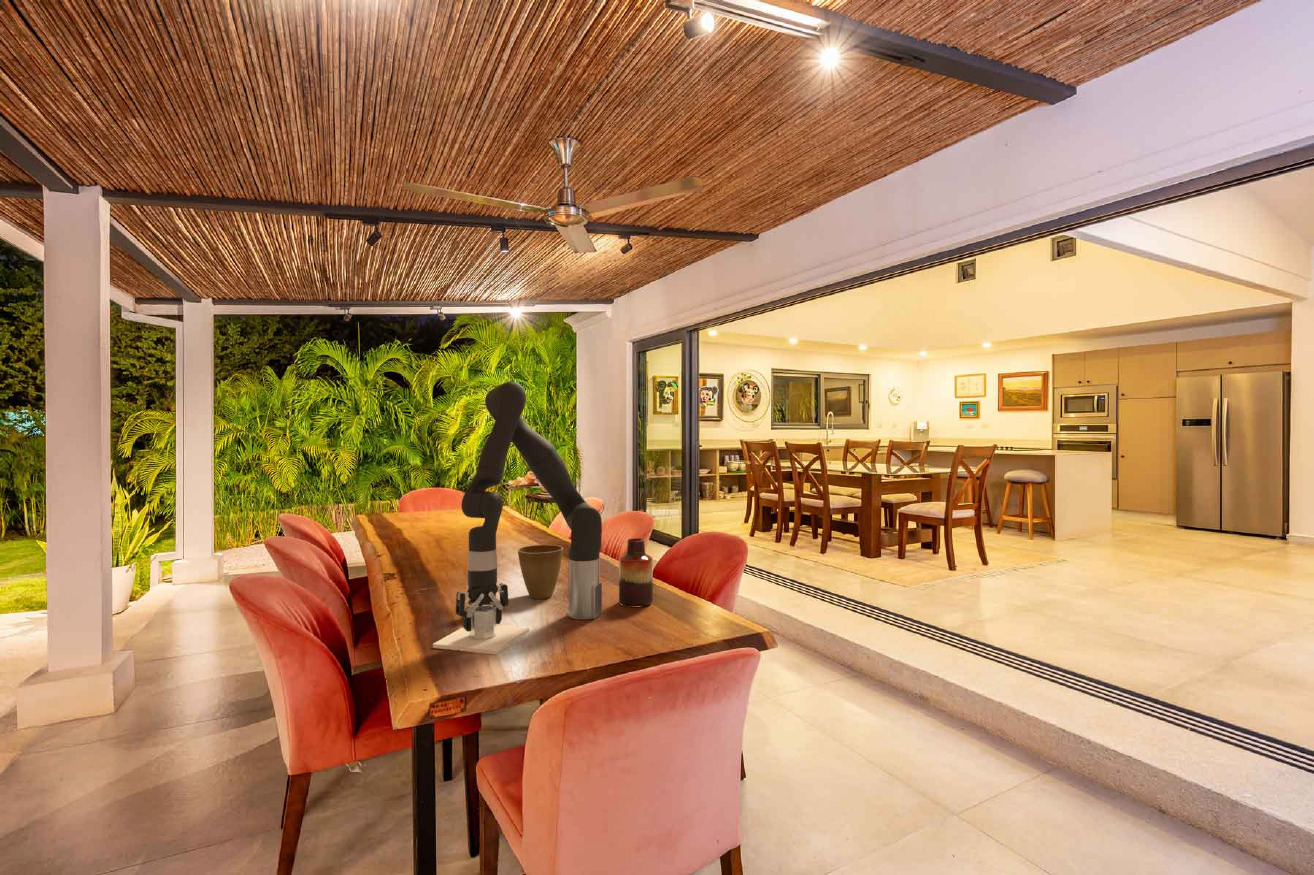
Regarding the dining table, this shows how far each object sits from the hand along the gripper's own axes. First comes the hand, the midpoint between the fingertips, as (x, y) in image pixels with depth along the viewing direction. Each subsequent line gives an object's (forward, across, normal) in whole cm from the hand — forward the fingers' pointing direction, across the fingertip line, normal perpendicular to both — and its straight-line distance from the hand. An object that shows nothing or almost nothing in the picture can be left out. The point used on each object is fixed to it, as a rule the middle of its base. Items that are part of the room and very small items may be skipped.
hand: (482, 627), depth 168 cm
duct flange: (+3, 0, 0) cm, 3 cm away
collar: (+2, 0, 0) cm, 2 cm away
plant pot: (+4, -35, -25) cm, 43 cm away
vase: (+4, -53, +3) cm, 53 cm away
